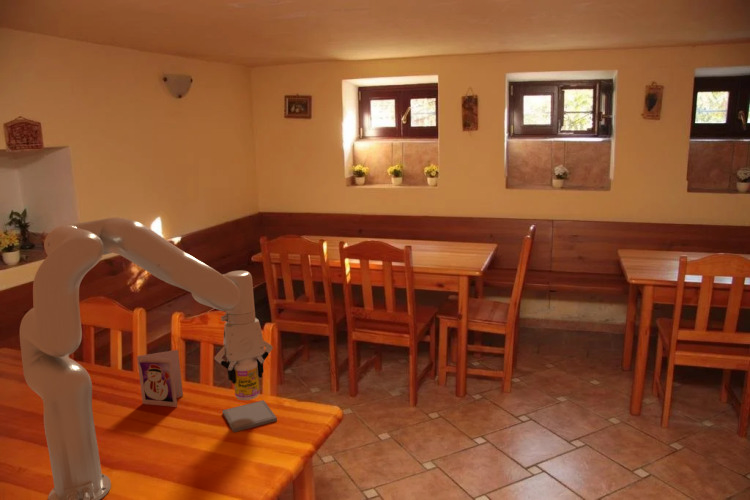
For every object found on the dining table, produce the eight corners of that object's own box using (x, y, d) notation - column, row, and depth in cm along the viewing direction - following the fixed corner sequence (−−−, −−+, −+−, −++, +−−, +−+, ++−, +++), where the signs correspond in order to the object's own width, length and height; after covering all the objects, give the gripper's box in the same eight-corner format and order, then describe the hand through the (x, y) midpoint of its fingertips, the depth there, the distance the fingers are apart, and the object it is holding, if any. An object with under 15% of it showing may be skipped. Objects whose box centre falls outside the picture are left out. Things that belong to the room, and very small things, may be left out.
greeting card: (141, 405, 175) (135, 357, 172) (155, 393, 182) (150, 347, 179) (175, 408, 172) (170, 359, 169) (189, 396, 179) (184, 350, 176)
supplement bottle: (236, 402, 160) (231, 358, 158) (234, 392, 167) (230, 349, 164) (261, 399, 162) (257, 354, 159) (259, 388, 168) (255, 346, 166)
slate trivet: (276, 420, 163) (276, 417, 163) (233, 432, 158) (233, 428, 158) (263, 403, 174) (263, 399, 173) (222, 413, 168) (222, 410, 168)
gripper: (211, 327, 152) (217, 391, 156) (276, 315, 160) (281, 376, 164) (205, 319, 159) (211, 380, 163) (267, 307, 166) (272, 367, 170)
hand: (246, 378), depth 163 cm, fingers closed on supplement bottle, 6 cm apart
